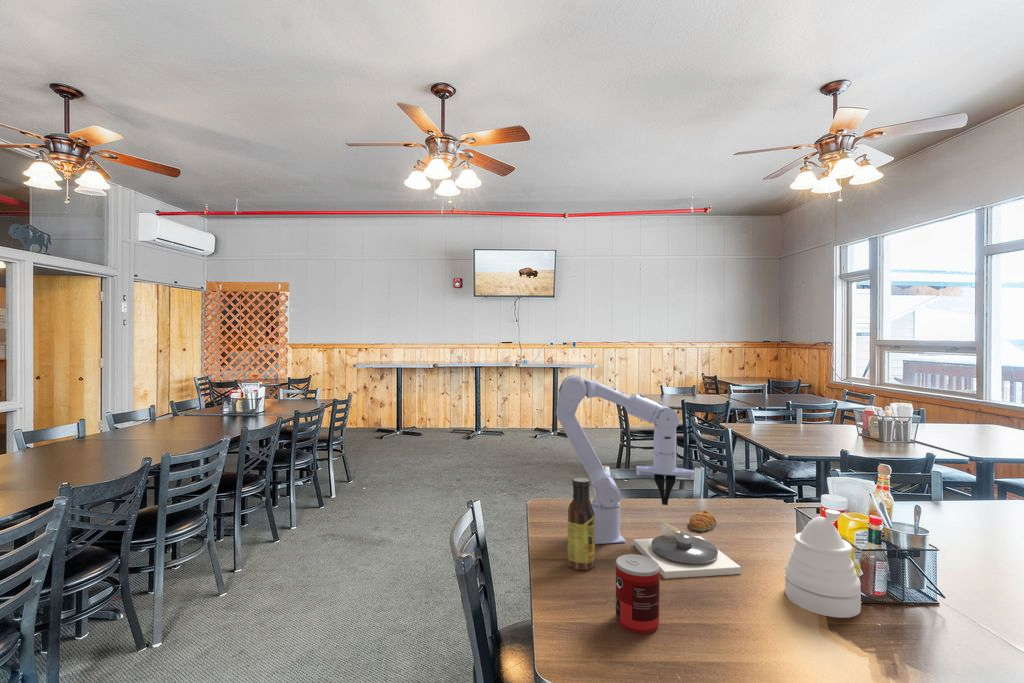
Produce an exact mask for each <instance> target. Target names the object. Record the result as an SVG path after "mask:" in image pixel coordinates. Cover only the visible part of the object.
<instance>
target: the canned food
mask: <svg viewBox="0 0 1024 683" xmlns="http://www.w3.org/2000/svg"><path fill="white" fill-rule="evenodd" d="M660 575H661V574H660V573H659V564H658V563H657V562H656V561H655V560H653V559H651V558H649V557H646V556H643V555H642V554H633V553H630V554H623V555H620V556H618V557H617V558H616V559H615V619H616V621H617V623H618V625H619V626H621V627H622V628H623V629H624V630H627V631H628V632H631V633H634V634H643V635H645V634H646V635H647V634H650V633H653V632H656V631H657V629H658V628H659V624H660V587H661V586H660V585H661V584H660V583H661V582H660V579H661V578H660V577H661V576H660Z"/></svg>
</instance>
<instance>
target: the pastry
mask: <svg viewBox="0 0 1024 683" xmlns="http://www.w3.org/2000/svg"><path fill="white" fill-rule="evenodd" d="M717 523H718V521H717V519H716V518H715V516H714V515H713V513H712V512H710V511H709V510H697V512H695V513H693V514H692V516H690V517H689V528H690V529H691V530H693V531H698V532H702V533H703V532H704V531H705V532H706V530H708V531H711V530H712V529H714V528H715V527H716V526H717ZM713 527H714V528H713Z"/></svg>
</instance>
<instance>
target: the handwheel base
mask: <svg viewBox="0 0 1024 683" xmlns="http://www.w3.org/2000/svg"><path fill="white" fill-rule="evenodd" d="M691 536H692V537H696V538H700V539H703V540H705V541H707V540H706V539H705V538H703V537H702V536H701V535H691ZM654 538H655V537H654ZM654 538H639V539H638V538H637V539H633V546H634V547H635V549H636V550H638V551H639V553H640V554H641V555H642V554H643V555H642V556H646V557H649V558H651V559H653V560H655V561H656V562H657V563H658V564H659V575H661V576H662V577H663V579H677V578H678V579H680V578H694V577H708V576H709V577H711V576H726V575H727V576H728V575H740V574H742V566H740V565H739V564H738V563H737V562H735V561H734V560H732V559H731V558H729V557H728V556H727V555H726V554H725V553H723V552H722V551H721V550H719V549H718V548H717V550H718V557H717V559H716V560H715V561H713V562H711V563H707V564H700V565H691V564H682V563H677V562H673V561H670V560H667V559H664V558H662V557H660V556H658V555H657V554H656V553H654V552H653V550H652V547H651V542H652V540H653V539H654Z"/></svg>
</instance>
